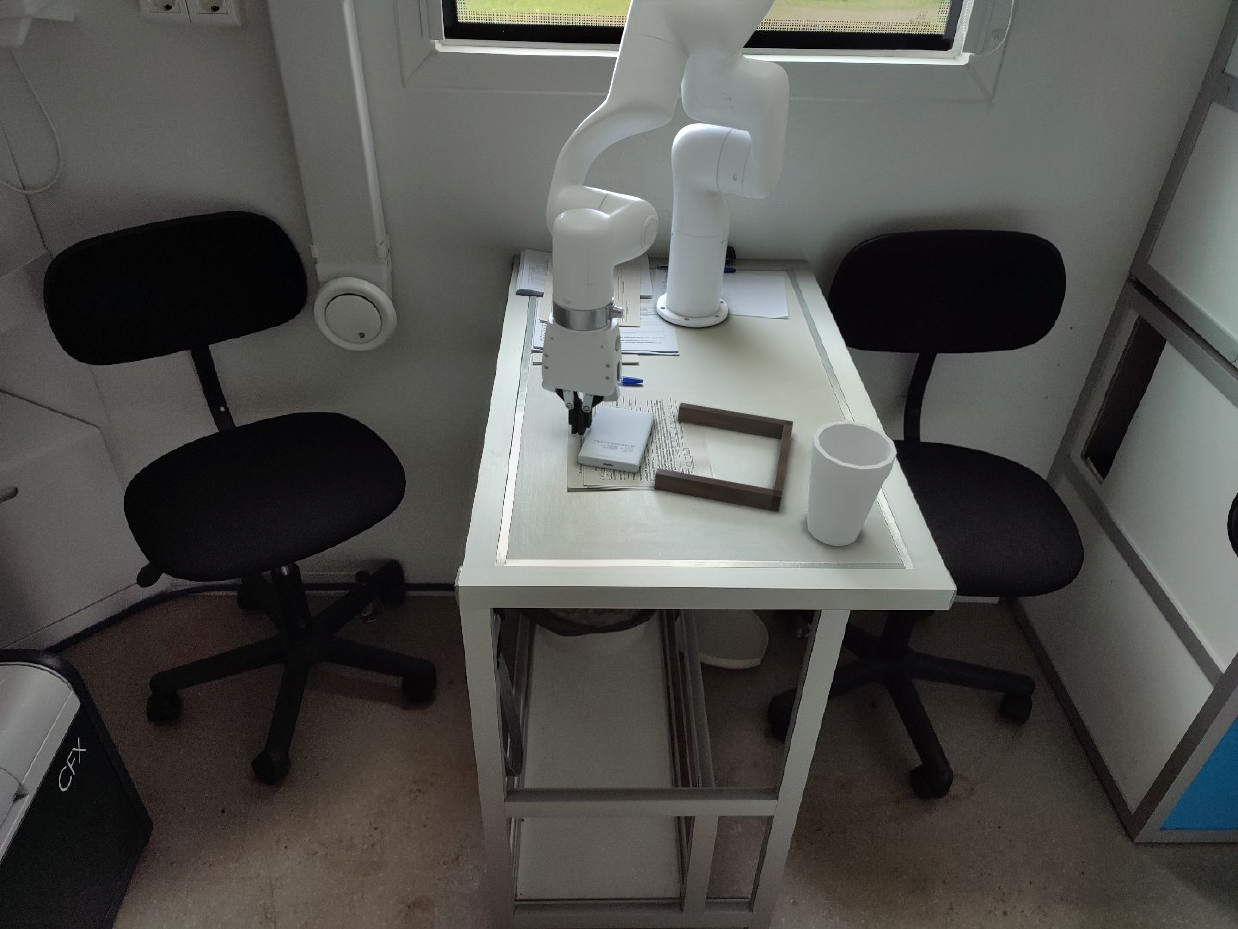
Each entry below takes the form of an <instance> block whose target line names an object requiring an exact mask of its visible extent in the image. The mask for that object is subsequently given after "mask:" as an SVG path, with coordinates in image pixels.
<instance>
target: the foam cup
mask: <svg viewBox="0 0 1238 929" xmlns="http://www.w3.org/2000/svg"><path fill="white" fill-rule="evenodd" d="M897 454H898V452H897V448H896V446H895V442H894V441H893V440H892V439H891V438H890V437H889V436H888V435H886V434H885V432H883V431H882V430H881V429H878V428H875V427H873V426H872V425H869V424H866V423H863V422H856V421H852V420H839V421H838V420H837V421H830V422H828V423H825V424H824V425H821V426H819V427H818V428H817V430H816V431H815V432H814V434H813V435H812V439H811V444H810V448H809V458H810V464H809V465H810V468H809V483H808V498H807V499H808V500H807V516H806V520H807V521H806V524H807V525H806V526H807V530H808V532H809V533H810V534H811V536H812V537H813V538H814V539H816V540H817V541H819V542H821V543H823V544H824V545H825V544H826V545H829V546H834V547H840V546H842V547H843V546H849V545H851V544H853V543H855V542H856V540H857V539H858V537H859V534H860V533H861V530H862V529H863V526H864V524H865V523H866V520H867V519H868V516H869V513H870V511H871V509H872V508H873V506H874V504H875V502H876V499H877V498H878V495H879V494H880V491H881V489H882V487H883V484H884V482H885V481H886V480H887V479H888V478H889V476H890V474H891V471H892V470H893V467H894V463H895V460H896V457H897Z"/></svg>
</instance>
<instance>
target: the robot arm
mask: <svg viewBox="0 0 1238 929" xmlns="http://www.w3.org/2000/svg"><path fill="white" fill-rule="evenodd" d="M775 1H776V0H631V1H630V5H629V9H628V13H627V17H626V22H625V25H624V29H623V33H622V36H621V41H620V46H619V48H618V49H619V50H618V52H617V53H618V54H617V57H616V58H617V59H616V62H615V66H614V70H613V74H612V78H611V83H610V86H609V91H608V93H607V97H606V99H605V100H604V101H603V103H602V104H601V105H599V107H598V108H597V109H596V110H594V111H593V112H592V113H590V114H589V116H587V117H586V118H585V119H584V120H583V121H582V122H581V123H580V124H579V125H578V126H577V127H576V129H575V130H574V131H573V132H572V134H571V135H570V136H569V138H568V139H567V141H566V142H565V144H564V145H563V146H562V148H561V150H560V152H559V155H558V156H557V160H556V162H555V165H554V169H553V174H552V178H551V182H550V186H549V191H548V196H547V200H546V209H545V223H546V227H547V231H548V232H549V234H550V236H551V237H552V238H551V239H552V243H551V244H552V311H551V312H550V313H549V316H548V317H547V321H546V325H545V326H546V327H545V330H544V338H543V344H542V355H541V379H542V381H541V382H542V383H541V388H542V389H543V390H546V391H549V392H551V393H554V394H556V395H557V396H558V397H559V398H560V400H561V401H562V402H564V406H565V408H566V410H568V412H567V413H568V414H567V415H568V416H567V418H568V420H567V423H568V425H569V426H571V430H570V431H571V435H578V436H582V437H583V436H584V435H585V432H586V431H587V429H590V427H591V424H592V422H593V409H594V408H595V407H597V406H598V405H600V404H601V403H602V402H605V403H611V402H613V403H614V402H618V401H619V398H620V397H621V391H620V386H619V382H620V381H621V379H622V375H623V374H622V373H623V360H622V359H623V355H622V354H623V352H622V350H623V349H622V338H621V330H620V324H619V319H622V318H623V316H624V307H619V306H618V305H616V303H615V298H614V276H615V275H614V274H615V273H614V272H615V266H617V265H620V264H623V263H625V262H628V261H631V260H634V259H636V258H638V257H640V256H642V255H643V254H645V252H647V251H648V250H649V249H650V248H651V246H652V245H653V244H654V243H655V240H656V238H657V235H658V231H659V216H658V213H657V211H656V209H655V207H654V206H653V205H652V204H651V203H650V202H648V201H647V200H644V199H642V198H641V197H636V196H632V195H628V194H623V193H619V192H618V193H617V192H614V191H611V190H610V191H609V190H605V189H600V188H596V187H591V186H586V185H585V181H586V177H587V175H588V172H589V169H590V168H591V166H592V164H593V162H594V161H595V159H596V158H598V157H599V155H600V154H601V153H602V152H603V151H605V150H606V149H607V148H608V147H610V146H612V145H613V144H615V143H617V142H619V141H621V140H624V139H626V138H629V137H632V136H635V135H638V134H642V133H645V132H649V131H652V130H655V129H659V128H662V127H664V126H666V125H667V124H669V123H670V122H671V121H672V119H673V118H674V115H675V112H676V108H677V103H678V100H679V96H680V95H681V103H682V108H683V111H684V113H685V114H686V115H687V116H688V117H689V118H690V119H692V120H695V121H698V122H701V123H693V124H689V125H686V126H684V127H683V128H681V129H680V130H679V131H678V132H677V134H676V135H675V137H674V139H673V142H672V147H671V154H670V156H671V157H670V159H671V172H672V180H673V181H672V182H673V184H672V185H673V204H672V205H673V206H672V218H671V219H672V220H671V230H670V231H671V232H670V244H669V256H668V267H667V281H666V292H665V293H664V294H662V295H660V296H659V298H658V299H657V300H656V306H655V307H656V313H657V314H658V315H659V316H660V317H661V318H662V319H664V320H665V321H666V322H667V321H668V322H669V323H672V324H674V325H677V326H682V327H687V328H688V327H689V328H705V327H707V328H708V327H712V326H715V325H717V324H720V323H721V322H723V321H724V320H726V318H727V317H728V315H729V306H728V303H727V302H726V301H725V300H724V299H723V298H721V297H722V290H723V281H724V273H725V265H726V257H727V248H728V242H729V233H730V226H731V212H730V207H729V205H728V201H727V199H726V197H725V195H724V194H728V195H733V196H738V197H743V198H748V199H754V200H762V199H767V198H769V197H770V196H772V195H773V194H774V193H775V191H776V190H777V189H778V186H779V184H780V181H781V177H782V173H783V168H784V159H785V150H786V149H785V148H786V138H787V128H788V120H789V110H790V109H789V108H790V95H791V92H790V91H791V89H790V88H791V87H790V80H789V76H788V73H787V72H786V70H785V69H784V67H782V66H781V65H780V64H778V63H775V62H773V61H769V60H763V59H758V58H757V59H756V58H749V57H745V56H744V54H743V53H742V49H743V48H744V46H745V45H746V44H747V43H748V42H749V40H750V39H751V37H752V35H753V34H754V33H755V31H756V30H757V28H758V27H759V26H760V24H761V23H762V21H763V20H764V19H765V17H766V16H767V14H768V13H769V11H770V10H771V8H773V5H774V3H775ZM680 90H681V94H680ZM580 393H582V394H584V395H583V398H581V397H580Z"/></svg>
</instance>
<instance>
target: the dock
mask: <svg viewBox="0 0 1238 929" xmlns="http://www.w3.org/2000/svg"><path fill="white" fill-rule="evenodd" d="M677 422H681V423H688V424H693V425H700V426H706V427H710V428H718V429H721V430H728V431H734V432H741V433H746V434H752V435H757V436H763V437H768V438H769V437H770V438H776V439H780V444H779V450H778V457H777V463H776V469H775V474H774V481H773V488H767V487H763V486H757V485H753V484H752V485H751V484H746V483H741V482H736V481H730V480H724V479H718V478H713V477H708V476H702V475H697V474H692V473H685V472H681V471H676V470H675V471H674V470H669V469H663V468H658V467H657V468H656V470H655V473H654V485H653V486H654V487H653V489H654V490H660V491H666V492H671V493H676V494H681V495H688V496H693V497H698V498H703V499H709V500H714V501H719V502H725V503H729V504H735V505H740V506H746V507H750V508H751V507H752V508H756V509H761V510H768V511H773V512H780V509H781V505H782V504H781V503H782V498H783V492H784V486H785V480H786V472H787V466H788V460H789V452H790V447H791V440H792V434H793V433H792V432H793V427H794V421H792V420H789V419H788V420H787V419H782V418H781V419H780V418H775V417H769V416H764V415H763V416H762V415H757V414H753V413H745V412H741V411H740V412H739V411H733V410H727V409H721V408H717V407H709V406H705V405H704V406H703V405H697V404H692V403H687V402H679V405H678V413H677Z"/></svg>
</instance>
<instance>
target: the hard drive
mask: <svg viewBox="0 0 1238 929" xmlns="http://www.w3.org/2000/svg"><path fill="white" fill-rule="evenodd" d="M654 421H655V414H654V413H653V412H648V411H642V410H634V409H628V408H622V407H617V406H616V407H615V406H609V405H599V406H598V408H597V410H596V412H595V414H594V416H593V418H592V424H591V427H590V428H588V431H587V434H586V436H585V439H584V441H583V444H582V446H581V448H580V451H579V452H578V455H577V463H578V464H580V465H584V466H589V467H594V468H602V469H608V470H613V471H621V472H627V473H633V474H634V473H638V472H639V469H640V466H641V463H642V459H643V456H644V453H645V450H646V447H647V443H648V440H649V437H650V433H651V431H652V428H653V424H654Z"/></svg>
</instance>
